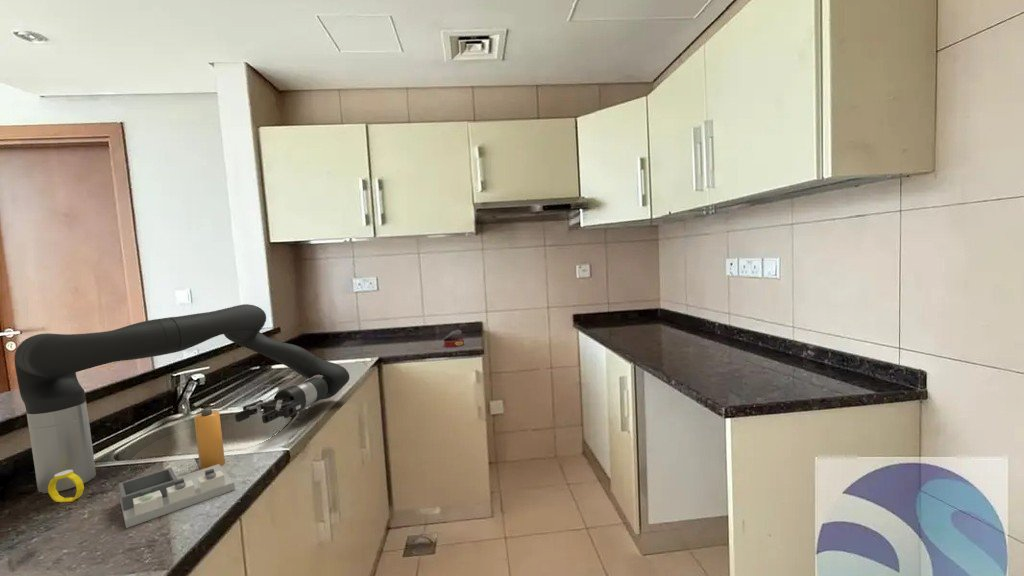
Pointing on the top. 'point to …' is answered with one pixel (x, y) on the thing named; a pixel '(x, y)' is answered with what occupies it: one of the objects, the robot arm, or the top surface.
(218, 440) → the orange thermos flask
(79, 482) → the watch
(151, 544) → the top surface
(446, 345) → the canned food
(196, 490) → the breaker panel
